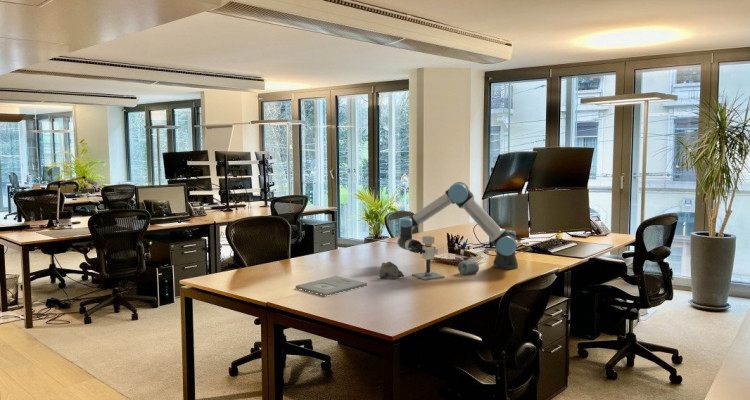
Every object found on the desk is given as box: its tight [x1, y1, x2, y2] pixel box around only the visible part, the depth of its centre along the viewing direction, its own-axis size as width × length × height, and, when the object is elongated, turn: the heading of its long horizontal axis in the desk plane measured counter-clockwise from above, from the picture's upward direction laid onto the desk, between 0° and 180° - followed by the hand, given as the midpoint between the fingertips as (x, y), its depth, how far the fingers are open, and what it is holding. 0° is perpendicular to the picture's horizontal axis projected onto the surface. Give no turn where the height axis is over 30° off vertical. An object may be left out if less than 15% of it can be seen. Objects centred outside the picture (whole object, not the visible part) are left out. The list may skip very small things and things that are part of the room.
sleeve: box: [421, 245, 435, 261], centre depth 330 cm, size 5×5×7 cm
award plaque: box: [295, 275, 368, 296], centre depth 308 cm, size 25×30×2 cm
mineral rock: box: [379, 261, 405, 280], centre depth 326 cm, size 13×11×10 cm
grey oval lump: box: [457, 259, 480, 276], centre depth 338 cm, size 14×10×10 cm
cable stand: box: [411, 235, 446, 281], centre depth 330 cm, size 14×14×23 cm
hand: (432, 252), depth 325 cm, fingers closed on sleeve, 5 cm apart
